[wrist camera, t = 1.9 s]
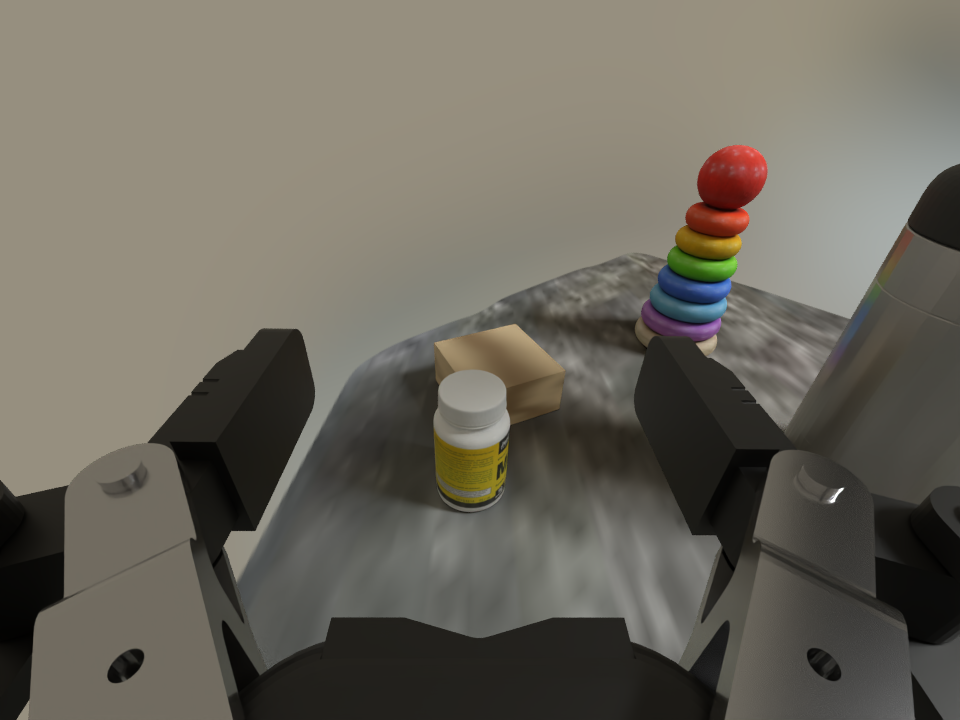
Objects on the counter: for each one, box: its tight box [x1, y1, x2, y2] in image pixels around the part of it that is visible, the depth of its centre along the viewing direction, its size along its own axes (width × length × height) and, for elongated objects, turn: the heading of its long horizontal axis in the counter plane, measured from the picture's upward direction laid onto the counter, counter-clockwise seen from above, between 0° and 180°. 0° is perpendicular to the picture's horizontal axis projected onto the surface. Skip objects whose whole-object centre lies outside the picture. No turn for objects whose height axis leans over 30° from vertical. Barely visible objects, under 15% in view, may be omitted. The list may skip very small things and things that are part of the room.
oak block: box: [434, 324, 565, 425], centre depth 37 cm, size 8×8×4 cm
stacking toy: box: [635, 145, 767, 356], centre depth 40 cm, size 8×8×19 cm
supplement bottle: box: [433, 370, 510, 512], centre depth 27 cm, size 5×5×8 cm
